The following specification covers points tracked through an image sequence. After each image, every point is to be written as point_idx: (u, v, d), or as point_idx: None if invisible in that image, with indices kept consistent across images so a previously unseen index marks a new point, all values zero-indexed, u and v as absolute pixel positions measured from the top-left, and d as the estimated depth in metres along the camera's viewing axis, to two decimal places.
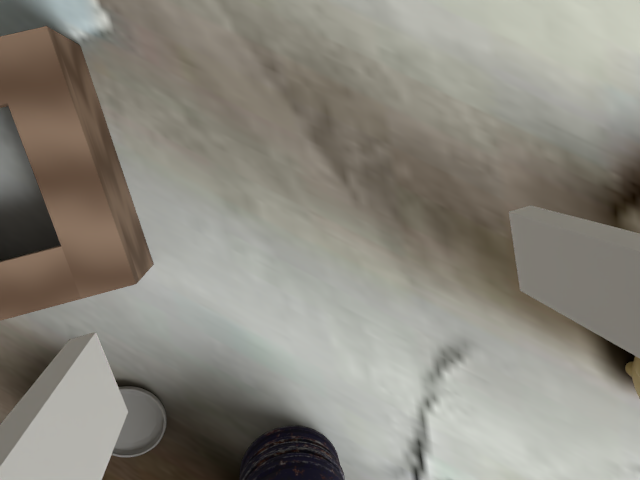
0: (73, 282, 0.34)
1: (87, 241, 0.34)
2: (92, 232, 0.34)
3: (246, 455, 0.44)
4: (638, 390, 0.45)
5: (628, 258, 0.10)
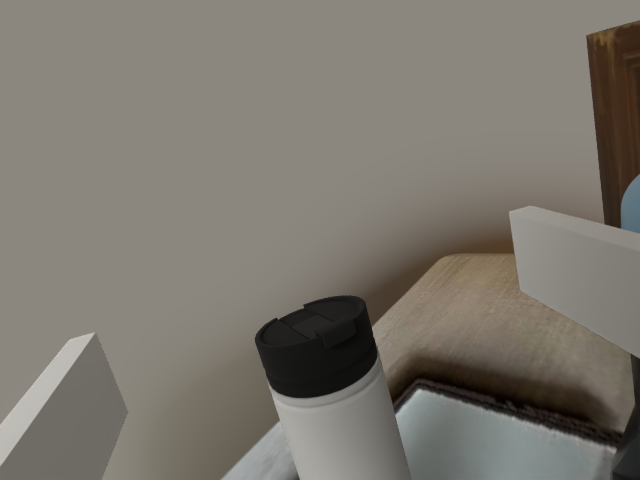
0: None
1: None
2: None
3: None
4: None
5: (628, 258, 0.10)
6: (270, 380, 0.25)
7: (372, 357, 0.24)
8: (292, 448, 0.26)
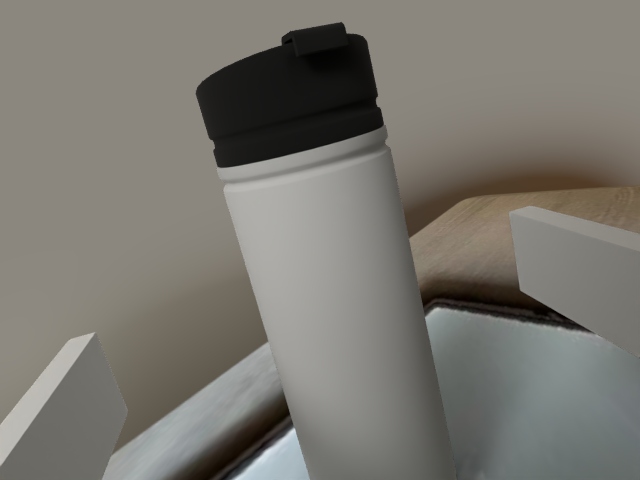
0: None
1: None
2: None
3: None
4: None
5: (628, 258, 0.10)
6: (216, 151, 0.16)
7: (375, 115, 0.16)
8: (251, 268, 0.17)
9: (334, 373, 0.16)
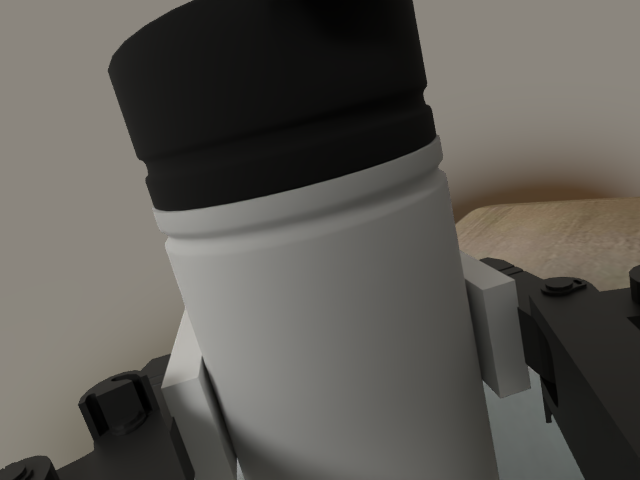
0: None
1: None
2: None
3: None
4: None
5: None
6: (147, 181, 0.09)
7: (427, 117, 0.09)
8: (211, 377, 0.10)
9: None
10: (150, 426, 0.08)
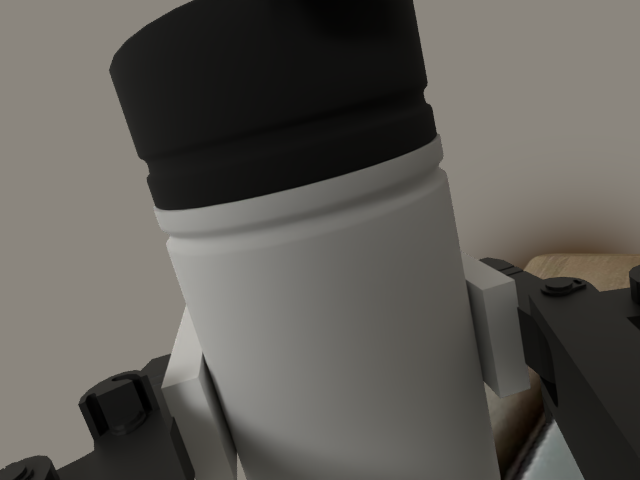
0: None
1: None
2: None
3: None
4: None
5: None
6: (149, 181, 0.09)
7: (427, 117, 0.09)
8: (213, 375, 0.10)
9: None
10: (150, 426, 0.08)
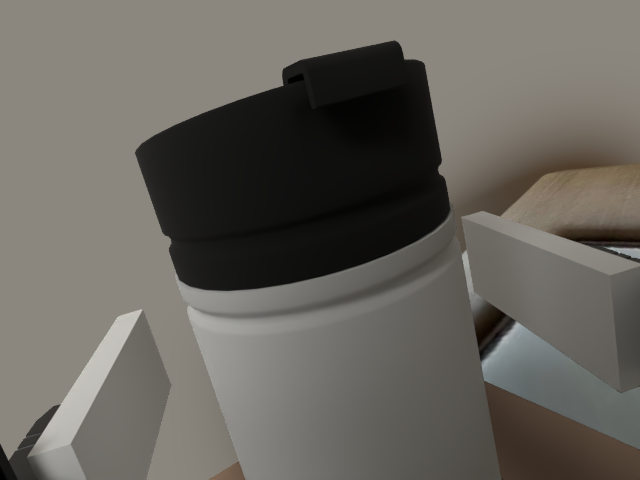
0: None
1: None
2: None
3: None
4: None
5: (553, 262, 0.11)
6: (172, 256, 0.09)
7: (442, 196, 0.09)
8: (232, 437, 0.10)
9: None
10: None
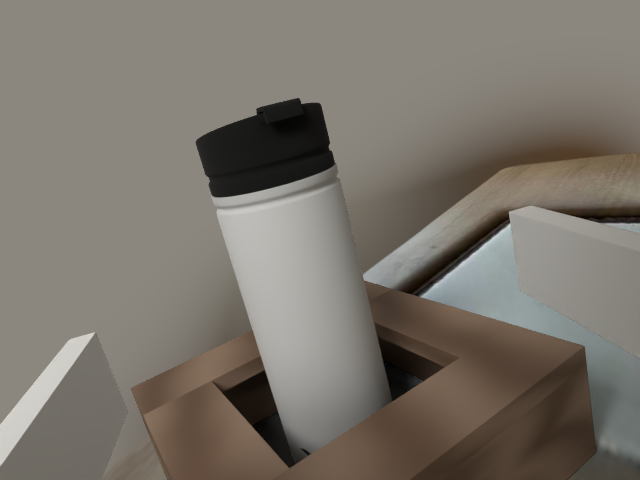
0: None
1: None
2: None
3: None
4: None
5: (628, 258, 0.10)
6: (211, 185, 0.22)
7: (326, 159, 0.22)
8: (237, 270, 0.23)
9: (298, 347, 0.22)
10: None
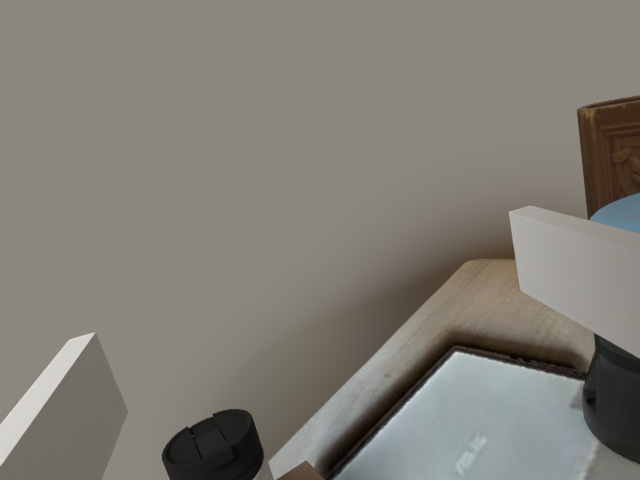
0: None
1: None
2: None
3: None
4: None
5: (628, 258, 0.10)
6: None
7: (253, 470, 0.30)
8: None
9: None
10: None
